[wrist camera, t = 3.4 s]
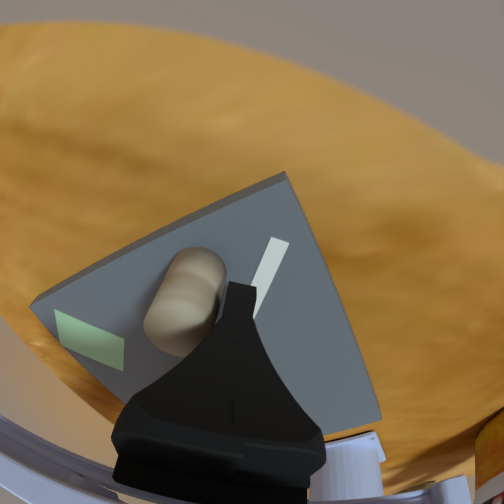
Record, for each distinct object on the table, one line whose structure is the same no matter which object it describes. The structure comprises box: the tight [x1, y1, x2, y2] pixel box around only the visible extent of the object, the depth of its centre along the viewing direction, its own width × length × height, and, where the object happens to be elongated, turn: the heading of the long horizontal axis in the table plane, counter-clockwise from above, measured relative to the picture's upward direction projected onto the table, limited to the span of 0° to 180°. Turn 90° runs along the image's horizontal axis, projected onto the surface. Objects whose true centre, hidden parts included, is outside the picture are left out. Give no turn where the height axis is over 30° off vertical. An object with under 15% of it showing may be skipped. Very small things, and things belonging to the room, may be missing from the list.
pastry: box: [393, 482, 437, 495], centre depth 37 cm, size 9×7×4 cm
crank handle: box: [143, 247, 227, 357], centre depth 14 cm, size 13×5×4 cm, turn 179°
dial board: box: [29, 171, 382, 435], centre depth 19 cm, size 20×18×1 cm
